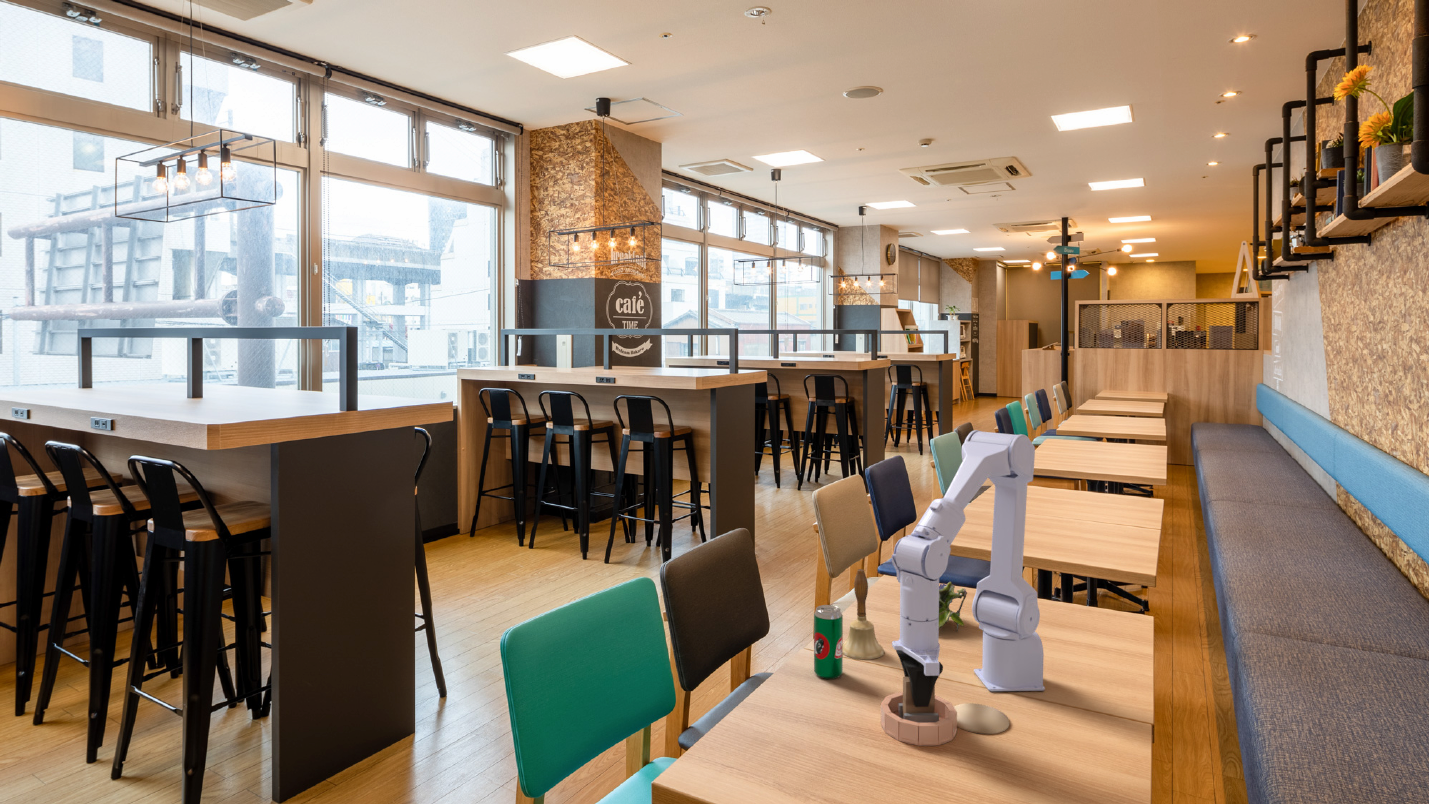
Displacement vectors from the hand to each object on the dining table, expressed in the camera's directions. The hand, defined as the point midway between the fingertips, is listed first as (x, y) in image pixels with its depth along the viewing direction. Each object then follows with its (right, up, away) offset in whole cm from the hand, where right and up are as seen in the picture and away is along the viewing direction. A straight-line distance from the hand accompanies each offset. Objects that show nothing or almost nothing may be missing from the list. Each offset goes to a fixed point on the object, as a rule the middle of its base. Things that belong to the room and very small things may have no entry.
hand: (918, 701), depth 118 cm
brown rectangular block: (0, -4, 0) cm, 3 cm away
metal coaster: (+10, -4, +2) cm, 11 cm away
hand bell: (-3, -2, +29) cm, 29 cm away
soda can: (-11, -3, +19) cm, 22 cm away
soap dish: (0, -4, 0) cm, 4 cm away
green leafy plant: (+16, -1, +41) cm, 44 cm away
